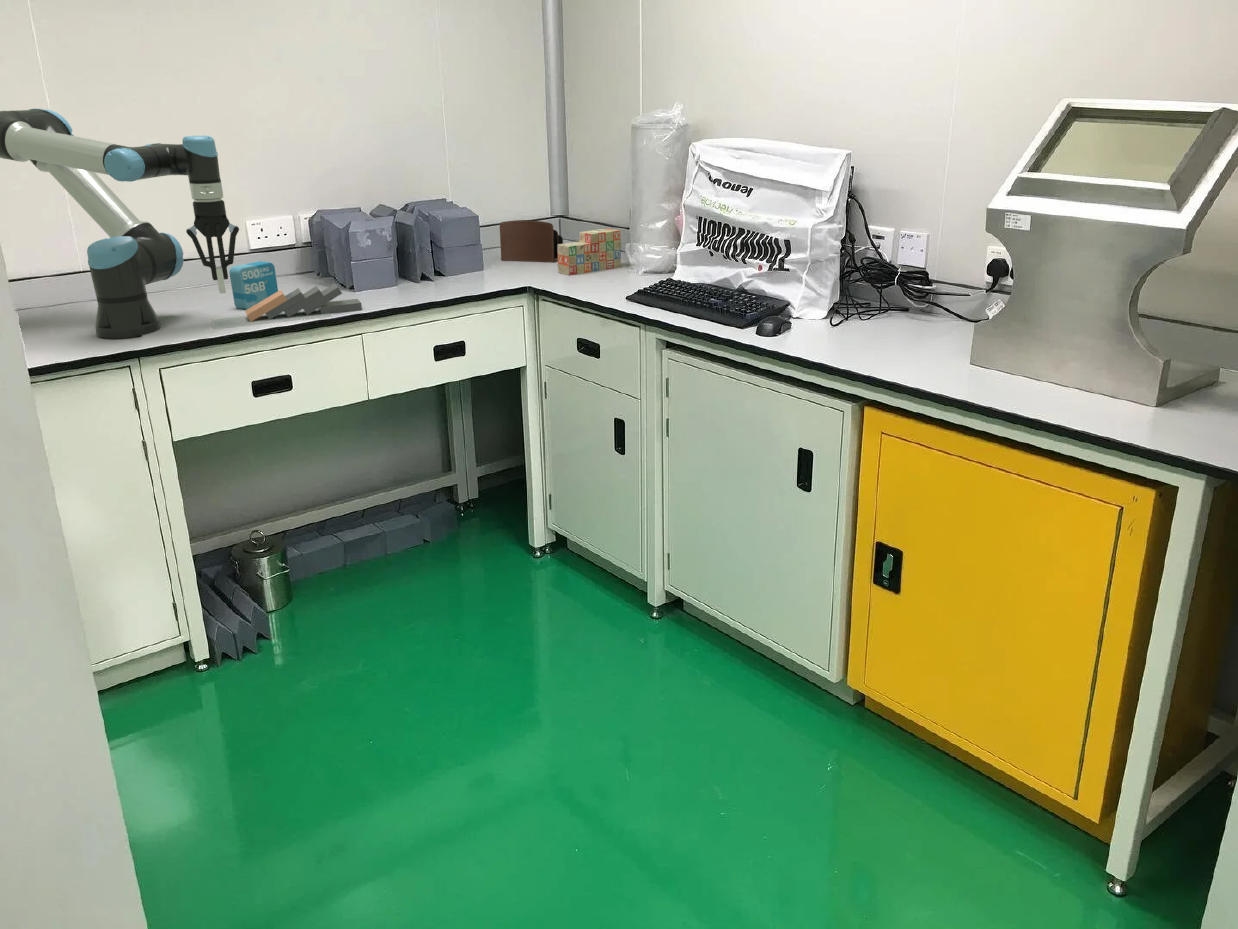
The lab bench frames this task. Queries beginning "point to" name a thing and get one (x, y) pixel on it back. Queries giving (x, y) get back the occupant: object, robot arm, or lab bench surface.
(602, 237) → the stack of blocks
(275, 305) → the domino
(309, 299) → the domino
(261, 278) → the data package
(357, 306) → the domino
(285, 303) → the domino
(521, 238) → the letter holder
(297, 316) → the mat
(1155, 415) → the lab bench surface
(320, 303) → the domino
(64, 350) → the lab bench surface
